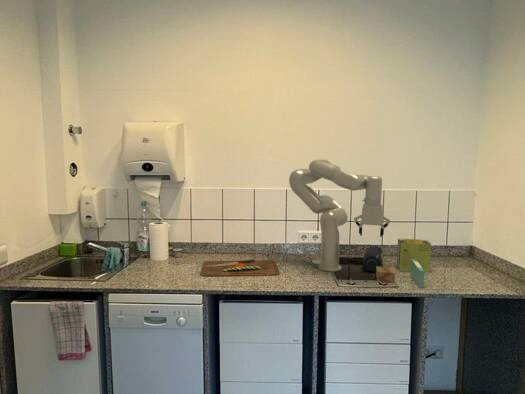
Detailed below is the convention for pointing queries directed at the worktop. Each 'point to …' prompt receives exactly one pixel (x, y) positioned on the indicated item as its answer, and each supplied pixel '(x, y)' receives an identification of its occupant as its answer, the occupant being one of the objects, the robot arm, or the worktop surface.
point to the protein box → (413, 254)
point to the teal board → (417, 273)
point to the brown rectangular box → (385, 274)
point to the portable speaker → (373, 258)
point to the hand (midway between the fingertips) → (370, 235)
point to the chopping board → (239, 268)
